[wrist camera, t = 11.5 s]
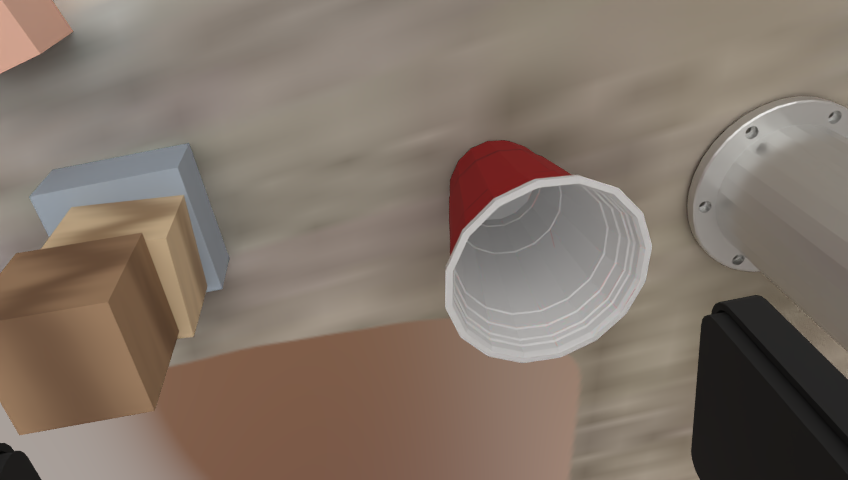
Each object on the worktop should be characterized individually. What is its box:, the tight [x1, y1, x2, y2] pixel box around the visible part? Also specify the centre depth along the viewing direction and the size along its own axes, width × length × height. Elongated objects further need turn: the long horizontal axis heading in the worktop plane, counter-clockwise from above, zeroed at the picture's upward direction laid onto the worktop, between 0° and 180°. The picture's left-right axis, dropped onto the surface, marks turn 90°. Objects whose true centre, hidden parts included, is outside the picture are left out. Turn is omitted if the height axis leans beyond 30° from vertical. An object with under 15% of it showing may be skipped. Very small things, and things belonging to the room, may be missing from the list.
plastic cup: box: [445, 140, 652, 363], centre depth 39 cm, size 11×11×12 cm
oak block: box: [41, 195, 207, 339], centre depth 37 cm, size 6×6×5 cm
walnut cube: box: [0, 233, 179, 435], centre depth 32 cm, size 6×6×6 cm
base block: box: [29, 143, 229, 292], centre depth 40 cm, size 8×8×4 cm
